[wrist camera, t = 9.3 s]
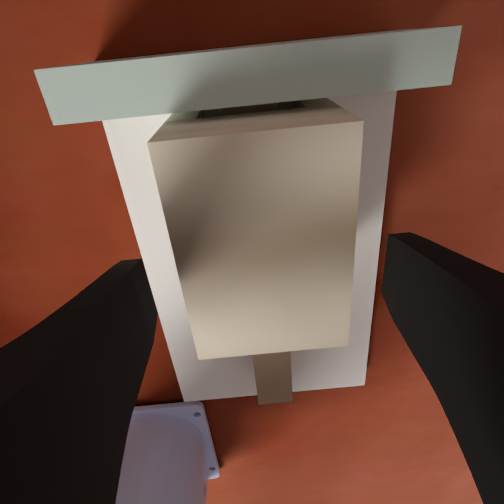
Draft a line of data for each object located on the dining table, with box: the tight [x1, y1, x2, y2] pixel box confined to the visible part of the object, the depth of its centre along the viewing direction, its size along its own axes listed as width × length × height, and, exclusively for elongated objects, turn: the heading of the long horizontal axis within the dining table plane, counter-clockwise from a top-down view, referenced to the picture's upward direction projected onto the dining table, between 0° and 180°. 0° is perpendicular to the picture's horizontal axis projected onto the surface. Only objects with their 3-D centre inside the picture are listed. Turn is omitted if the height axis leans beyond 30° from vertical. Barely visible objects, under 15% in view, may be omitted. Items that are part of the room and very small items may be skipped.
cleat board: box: [34, 26, 462, 405], centre depth 17 cm, size 20×12×5 cm, turn 5°
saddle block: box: [147, 98, 364, 360], centre depth 14 cm, size 8×6×6 cm
